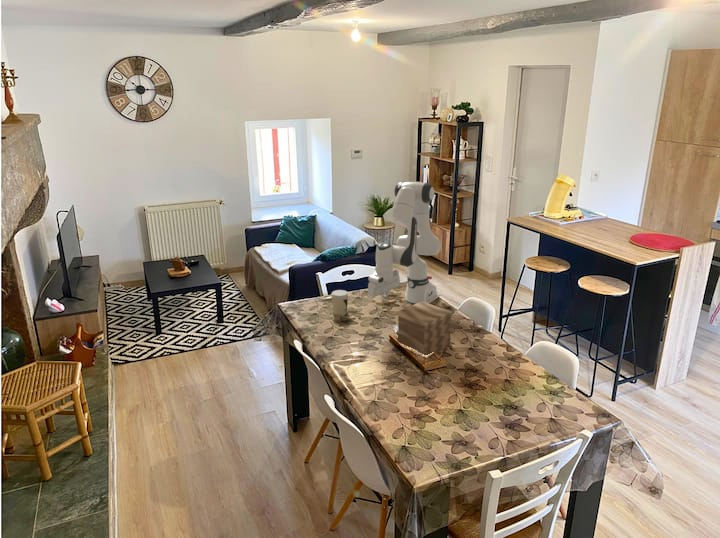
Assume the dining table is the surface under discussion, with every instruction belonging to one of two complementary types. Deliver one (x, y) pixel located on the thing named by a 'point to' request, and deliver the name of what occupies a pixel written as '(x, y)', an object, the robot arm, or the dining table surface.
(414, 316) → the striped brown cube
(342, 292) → the coffee cup
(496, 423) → the dining table surface
